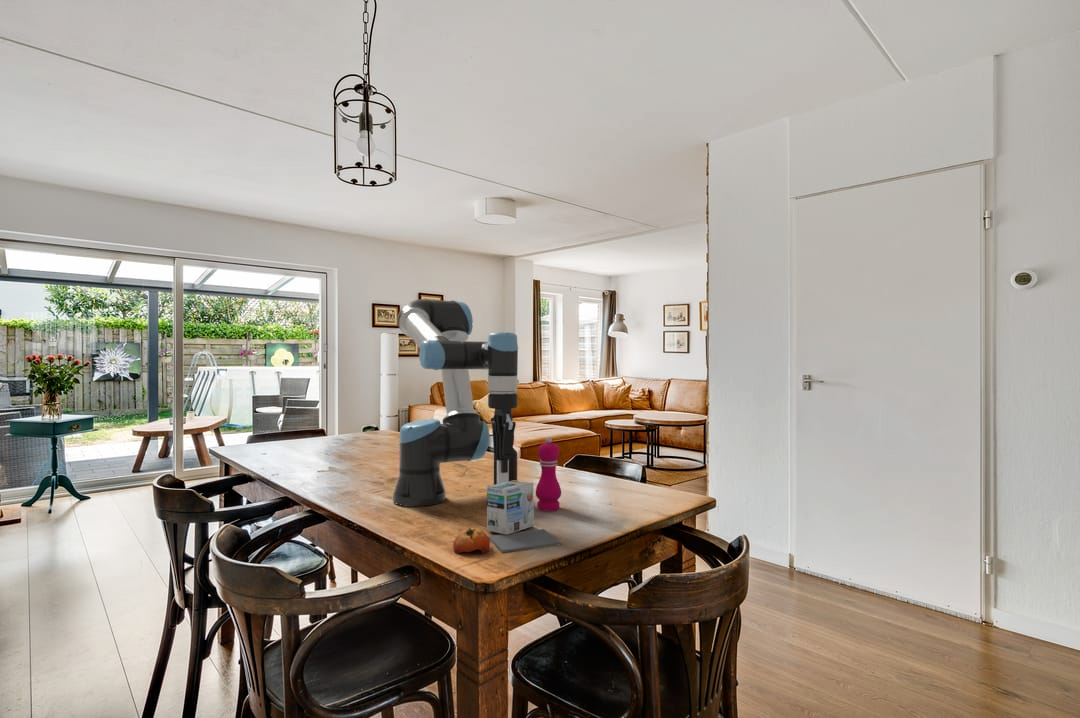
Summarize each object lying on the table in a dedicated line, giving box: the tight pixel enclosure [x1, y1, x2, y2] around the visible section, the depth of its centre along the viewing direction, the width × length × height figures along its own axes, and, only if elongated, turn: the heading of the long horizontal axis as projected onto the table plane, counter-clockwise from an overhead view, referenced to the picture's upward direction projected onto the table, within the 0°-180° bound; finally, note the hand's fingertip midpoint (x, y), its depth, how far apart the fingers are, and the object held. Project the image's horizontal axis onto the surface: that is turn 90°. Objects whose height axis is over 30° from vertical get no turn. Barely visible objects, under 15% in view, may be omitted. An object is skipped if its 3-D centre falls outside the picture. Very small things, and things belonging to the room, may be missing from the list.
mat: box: [487, 528, 562, 553], centre depth 122 cm, size 10×14×1 cm
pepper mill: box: [535, 436, 562, 512], centre depth 149 cm, size 7×7×20 cm
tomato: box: [452, 527, 491, 555], centre depth 117 cm, size 8×7×7 cm
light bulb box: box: [486, 479, 535, 535], centre depth 131 cm, size 11×7×11 cm, turn 142°
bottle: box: [493, 439, 518, 485], centre depth 153 cm, size 7×7×20 cm
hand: (502, 484), depth 137 cm, fingers closed
